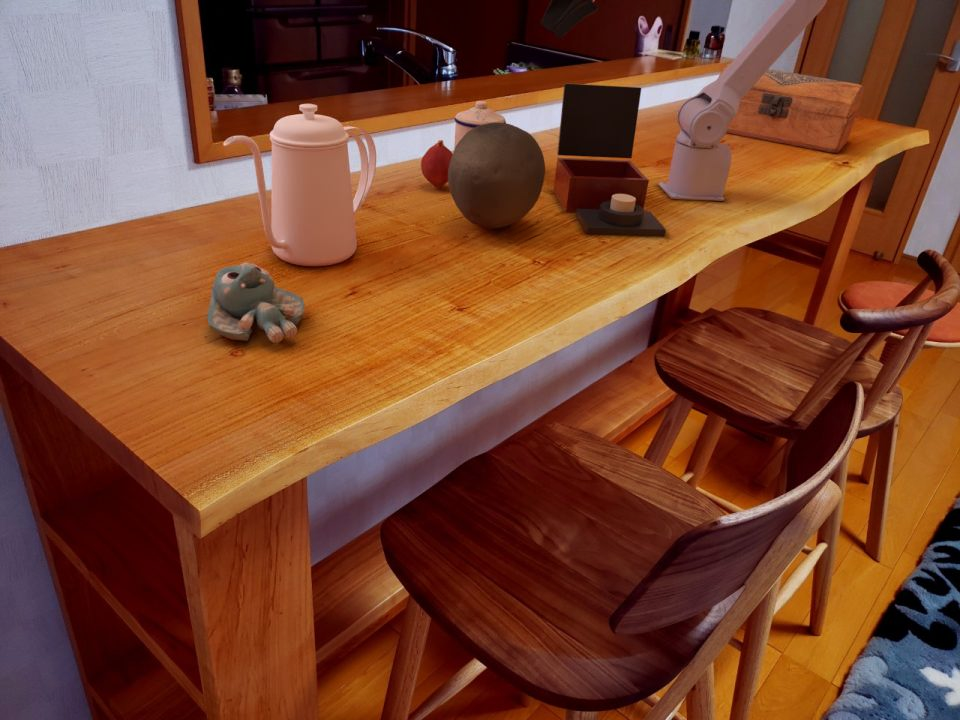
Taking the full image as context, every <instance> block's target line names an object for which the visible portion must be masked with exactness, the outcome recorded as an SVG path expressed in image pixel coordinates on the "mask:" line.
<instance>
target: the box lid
mask: <svg viewBox="0 0 960 720" xmlns="http://www.w3.org/2000/svg"><path fill="white" fill-rule="evenodd" d="M641 95H642V87H640V86H639V87H638V86H624V85H623V86H620V85H603V84H587V83H586V84H584V83H567V82H565V83H564V84H563V92H562V103H561V114H560V122H559V123H560V124H559V132H558V133H559V134H558V143H557V152H556V154H557V156H561V157H562V156H564V157H565V156H566V157H588V158H609V159H610V158H612V159H632V157H633V151H634V144H635V137H636V129H637V122H638V115H639V109H640V101H641Z"/></svg>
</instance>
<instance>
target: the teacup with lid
mask: <svg viewBox="0 0 960 720" xmlns="http://www.w3.org/2000/svg"><path fill="white" fill-rule="evenodd" d="M453 119H454V123H455V129H454V130H455V131H454V148H453V150H454V149H455V147H456V145H457V144H458V142H459V141H460V140H461V139H462V138H463V136H464V135H465V134H466V133H467V132H468V131H470V130H471V129H473V128H475V127H477V126H480V125H483V124H488V123H507V120H506V118H505V116H503V115H502V114H499V113H497V112H496V111H494V110H493V109H492V108H490V107H488V103H487V101H485V100H477V101H476V102H475V106H472V107H470V108H468V109H466V110H462V111H459V112H457V113H456V114H455V117H454V118H453Z"/></svg>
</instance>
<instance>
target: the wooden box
mask: <svg viewBox="0 0 960 720" xmlns="http://www.w3.org/2000/svg"><path fill="white" fill-rule="evenodd" d="M730 64H731V63H726V64H725V65H724V67H723V68H722V70H721V72H720V74H719V75H718V77H717V79H718V78H719V76H720V75H721V74H722V73H723V72H724V71H725V69H726V68H727V67H728V66H729V65H730ZM864 91H865V86H864V85H862V84H859V83H853V82H848V81H840V80H836V79H832V78H831V79H830V78H825V77H820V76H819V77H818V76H813V75H808V74H800V73H795V72H789V71H783V70H776V69H770V68H769V69H768V70H767V71H766V72H765V74H764V75H763V76H762V77H761V78H760V79H759V80H758V81H757V82H756V84H755V85H754V86H753V87H752V88H751V89H750V90H749V91H748V93H747V94H746V95H745V96H744V97H743V98H742V99H741V101H740V104H739V108H738V112H737V114H736V116H735V117H734V118H733V119H732V121H731V122H730V124H729V126H728V129H727V132H726V133H727V134H732V135H736V136H740V137H742V136H743V137H747V138H752V139H757V140H763V141H768V142H772V143H773V142H774V143H778V144H783V145H784V144H786V145H791V146H795V147H800V148H805V149H809V150H815V151H820V152H824V153H825V152H827V153H831V154H832V153H833V154H837V153H839V152H840V151H841V150H842V149H843V148H844V146H845V145H846V144H847V143H848V141H849V139H850V136H851V133H852V129H853V126H854V123H855V120H856V117H857V114H858V112H859V107H860V105H861V101H862V99H863V96H864V95H863V94H864Z"/></svg>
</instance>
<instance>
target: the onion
mask: <svg viewBox="0 0 960 720" xmlns="http://www.w3.org/2000/svg"><path fill="white" fill-rule="evenodd" d="M452 155H453V152H452V151H451V149H449V148H448V147H447V146H446V145H445V144H444V140H442V139H439V140H438V141H437V142H436V143H434V145H431V147H429V148H428V149H427V151H426V152H425V153H424V154H423V156H422V158H421V160H420V169H421V174H422V175H423V177H424V178H425V179H426V180H427V182H428V183H430V185H432V186H433V187H434V188H435V189H441V188H443V187H444V186H445V185H446V184H447V183H448V169H449V164H450V161H451V158H452Z"/></svg>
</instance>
